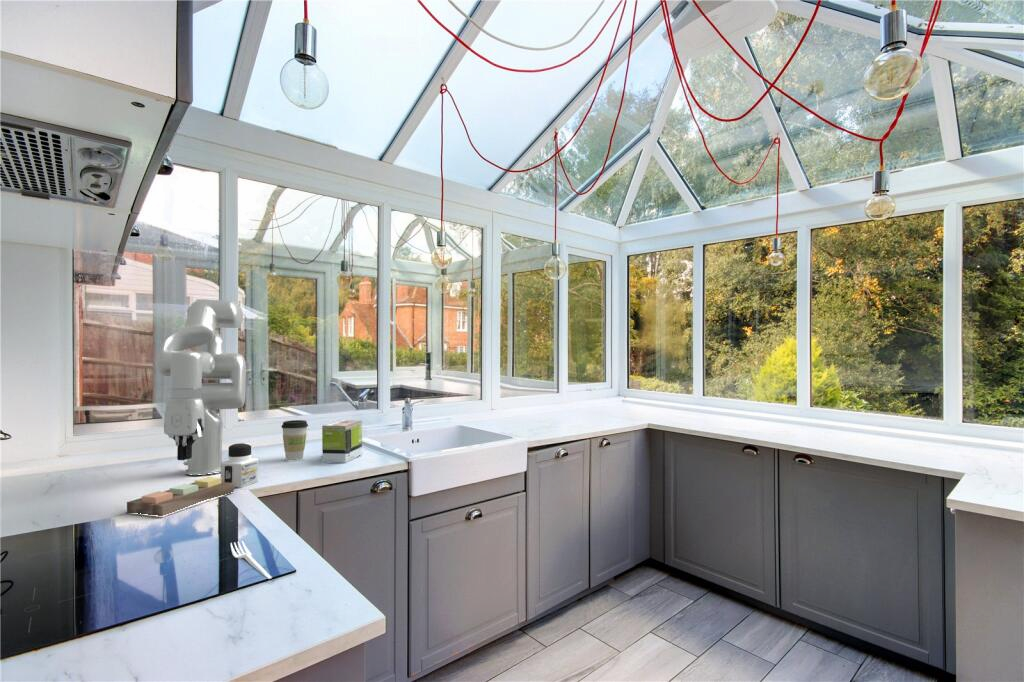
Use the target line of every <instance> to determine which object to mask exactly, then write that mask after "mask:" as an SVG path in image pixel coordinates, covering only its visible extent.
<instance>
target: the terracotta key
mask: <svg viewBox="0 0 1024 682" xmlns="http://www.w3.org/2000/svg"><path fill="white" fill-rule="evenodd" d="M141 498H142V503H151V504H157V503H160V502H163V501H167V500H170V499H173V493H171V492H163V491H159V490H158V491H156V492H152V493H149V494H145V495H142V496H141Z"/></svg>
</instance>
